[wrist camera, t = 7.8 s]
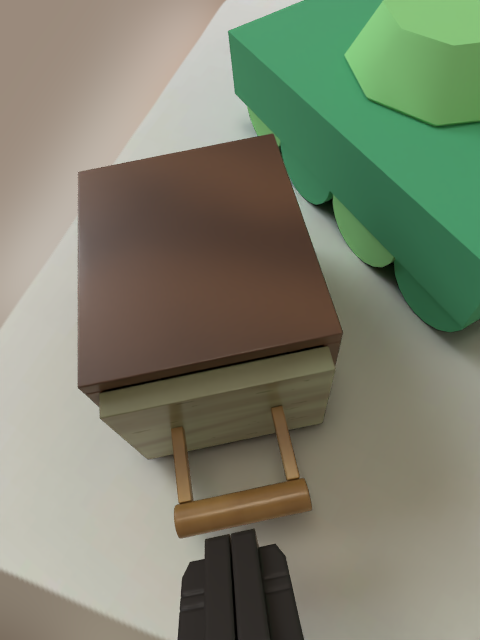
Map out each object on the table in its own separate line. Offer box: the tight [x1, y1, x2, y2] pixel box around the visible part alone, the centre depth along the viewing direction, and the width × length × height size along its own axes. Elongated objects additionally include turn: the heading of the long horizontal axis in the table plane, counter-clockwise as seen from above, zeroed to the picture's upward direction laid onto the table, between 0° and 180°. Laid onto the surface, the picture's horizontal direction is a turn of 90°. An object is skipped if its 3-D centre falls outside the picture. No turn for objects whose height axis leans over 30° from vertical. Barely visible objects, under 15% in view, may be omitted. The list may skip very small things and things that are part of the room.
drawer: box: [99, 346, 336, 538], centre depth 24 cm, size 17×10×8 cm, turn 11°
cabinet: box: [78, 133, 343, 407], centre depth 27 cm, size 14×12×10 cm
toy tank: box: [228, 0, 480, 332], centre depth 29 cm, size 18×12×35 cm
